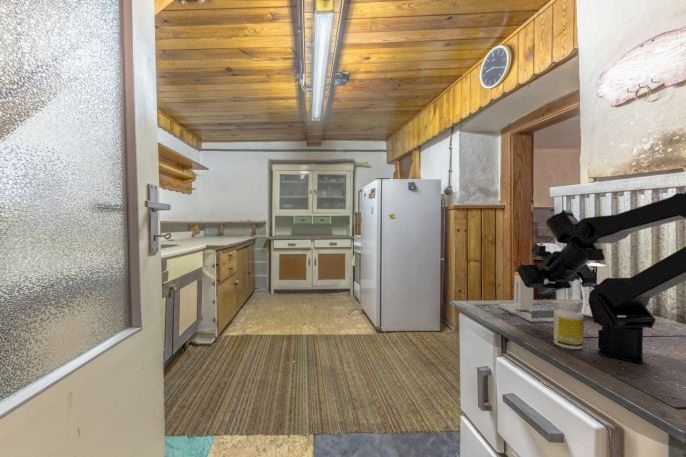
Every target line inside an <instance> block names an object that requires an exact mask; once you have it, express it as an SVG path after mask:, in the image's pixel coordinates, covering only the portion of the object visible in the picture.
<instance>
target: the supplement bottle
mask: <svg viewBox="0 0 686 457" xmlns="http://www.w3.org/2000/svg"><path fill="white" fill-rule="evenodd" d="M557 307H558V308H557V309H555V310H554V321H553V343H554V344H555V345H556V346H558V347H561V348H564V349H569V350H581V349H583V346H584V323H585V322H584V321H585V320H584V319H585V318H584V316H585V315H583V314H582V313H581V312H582V311H581V312H580V311H579V310H580V309H581V303H580V301H577V300H573V299H572V300H571V299H565V298H564V299H558V300H557Z"/></svg>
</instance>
